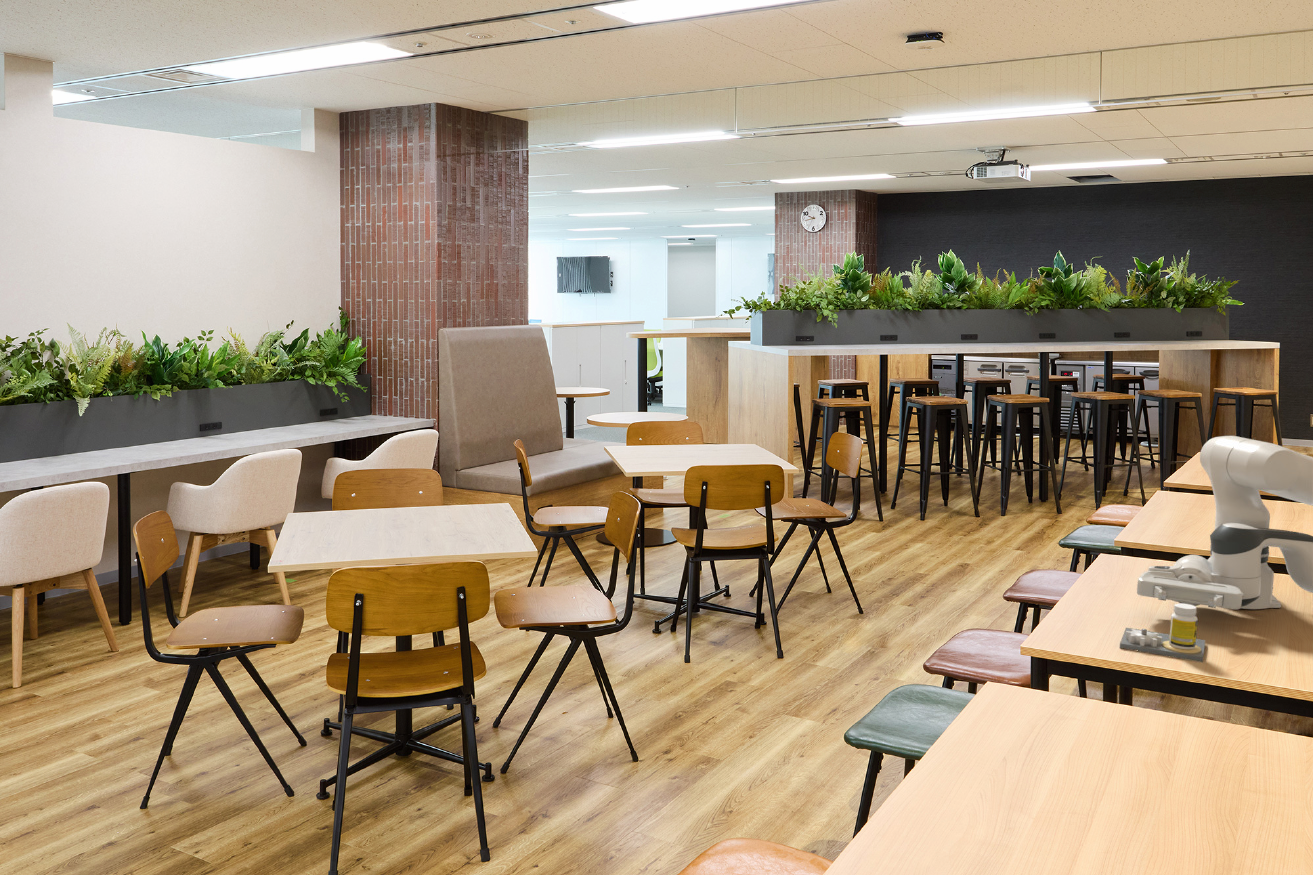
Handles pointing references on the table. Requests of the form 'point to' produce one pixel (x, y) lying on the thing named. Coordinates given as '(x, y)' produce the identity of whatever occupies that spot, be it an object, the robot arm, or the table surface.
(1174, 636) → the supplement bottle
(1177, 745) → the table surface
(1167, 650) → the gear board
